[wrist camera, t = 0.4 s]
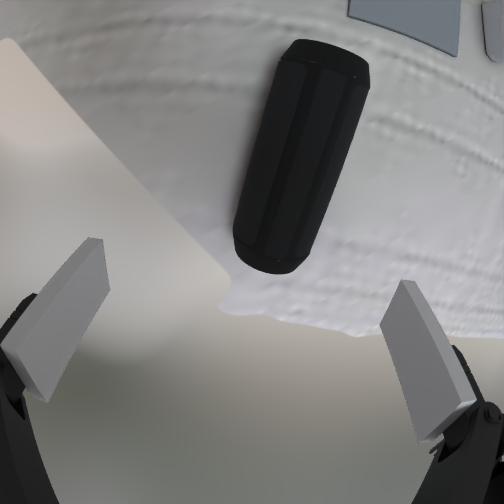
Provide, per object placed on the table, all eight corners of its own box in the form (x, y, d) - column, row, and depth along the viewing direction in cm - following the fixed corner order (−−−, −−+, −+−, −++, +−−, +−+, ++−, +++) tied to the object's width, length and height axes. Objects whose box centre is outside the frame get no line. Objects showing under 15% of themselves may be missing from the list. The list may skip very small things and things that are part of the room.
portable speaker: (299, 245, 43) (307, 287, 35) (231, 227, 42) (223, 267, 34) (360, 70, 31) (391, 66, 22) (283, 44, 30) (290, 28, 21)
